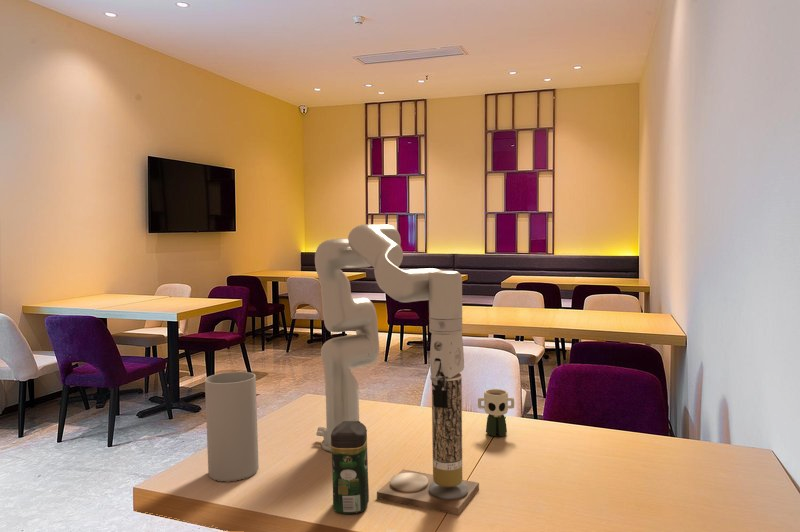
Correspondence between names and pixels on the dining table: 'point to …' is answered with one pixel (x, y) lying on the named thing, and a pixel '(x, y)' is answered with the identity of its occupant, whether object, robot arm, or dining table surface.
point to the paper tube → (448, 436)
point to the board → (427, 492)
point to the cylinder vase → (231, 425)
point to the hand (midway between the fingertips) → (446, 402)
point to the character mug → (496, 410)
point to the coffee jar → (349, 467)
